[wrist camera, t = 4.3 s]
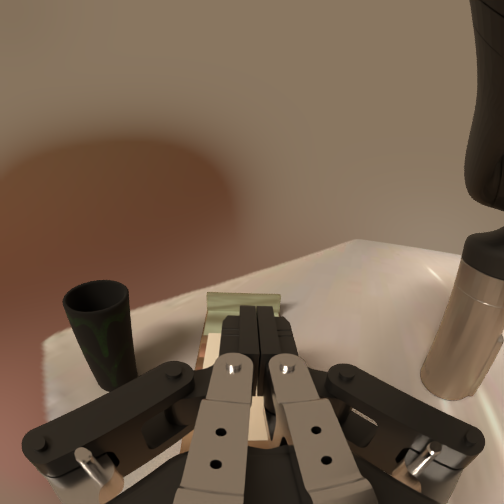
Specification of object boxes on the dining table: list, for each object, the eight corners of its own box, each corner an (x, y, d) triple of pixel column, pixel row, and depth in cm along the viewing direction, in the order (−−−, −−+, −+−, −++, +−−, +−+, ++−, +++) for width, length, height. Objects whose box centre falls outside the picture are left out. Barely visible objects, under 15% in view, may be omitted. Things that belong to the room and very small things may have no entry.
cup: (113, 352, 34) (95, 275, 30) (156, 370, 32) (142, 287, 28) (79, 382, 27) (49, 300, 23) (123, 407, 25) (94, 321, 21)
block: (281, 439, 22) (294, 379, 19) (208, 438, 22) (201, 377, 19) (275, 397, 28) (284, 334, 25) (212, 396, 28) (208, 332, 25)
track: (308, 466, 20) (317, 447, 19) (180, 465, 19) (173, 446, 18) (277, 314, 47) (280, 294, 46) (207, 312, 47) (207, 291, 45)
